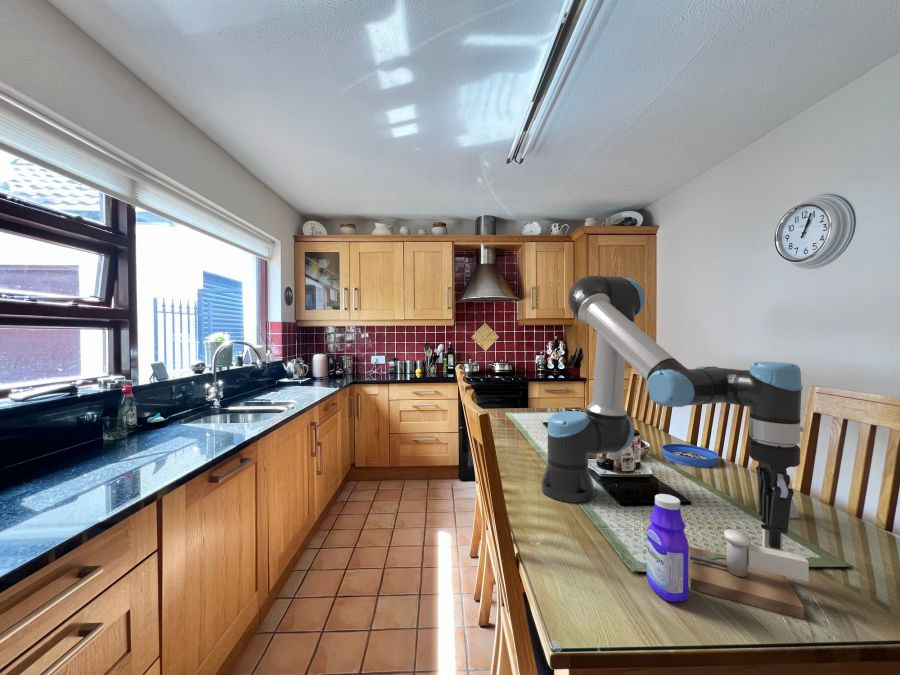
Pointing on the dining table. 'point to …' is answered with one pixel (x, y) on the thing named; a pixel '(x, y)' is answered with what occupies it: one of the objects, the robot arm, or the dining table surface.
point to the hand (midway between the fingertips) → (771, 560)
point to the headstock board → (743, 585)
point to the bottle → (667, 550)
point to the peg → (758, 558)
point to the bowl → (690, 460)
